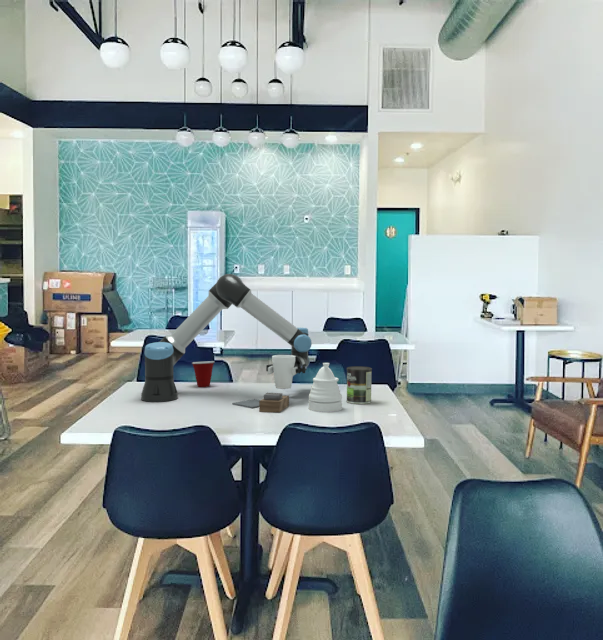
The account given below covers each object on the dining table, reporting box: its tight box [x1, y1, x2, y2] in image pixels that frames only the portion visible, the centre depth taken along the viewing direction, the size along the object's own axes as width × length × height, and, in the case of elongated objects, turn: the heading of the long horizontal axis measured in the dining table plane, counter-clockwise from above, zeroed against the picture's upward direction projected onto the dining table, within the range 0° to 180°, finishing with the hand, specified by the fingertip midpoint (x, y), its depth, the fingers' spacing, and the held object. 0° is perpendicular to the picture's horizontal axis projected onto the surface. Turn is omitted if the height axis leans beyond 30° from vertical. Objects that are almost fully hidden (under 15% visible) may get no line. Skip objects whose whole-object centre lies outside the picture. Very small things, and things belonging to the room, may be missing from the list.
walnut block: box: [258, 392, 290, 413], centre depth 238 cm, size 14×8×6 cm, turn 167°
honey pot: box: [308, 362, 343, 413], centre depth 237 cm, size 13×13×18 cm
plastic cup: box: [191, 360, 215, 388], centre depth 292 cm, size 11×11×12 cm
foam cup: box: [271, 354, 295, 390], centre depth 250 cm, size 10×9×13 cm
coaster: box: [232, 398, 261, 409], centre depth 247 cm, size 12×12×1 cm
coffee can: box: [346, 365, 373, 405], centre depth 251 cm, size 10×10×14 cm
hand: (280, 371), depth 246 cm, fingers closed on foam cup, 9 cm apart
